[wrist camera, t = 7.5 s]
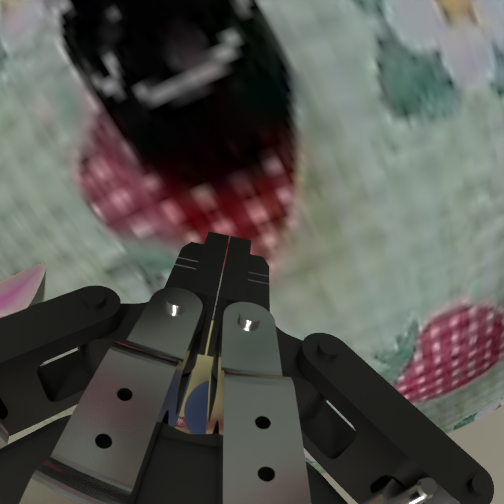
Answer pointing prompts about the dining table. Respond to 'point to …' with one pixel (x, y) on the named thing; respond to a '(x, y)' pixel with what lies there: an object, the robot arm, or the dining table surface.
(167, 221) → the dining table surface
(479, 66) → the dining table surface
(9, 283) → the lily
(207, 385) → the ball
